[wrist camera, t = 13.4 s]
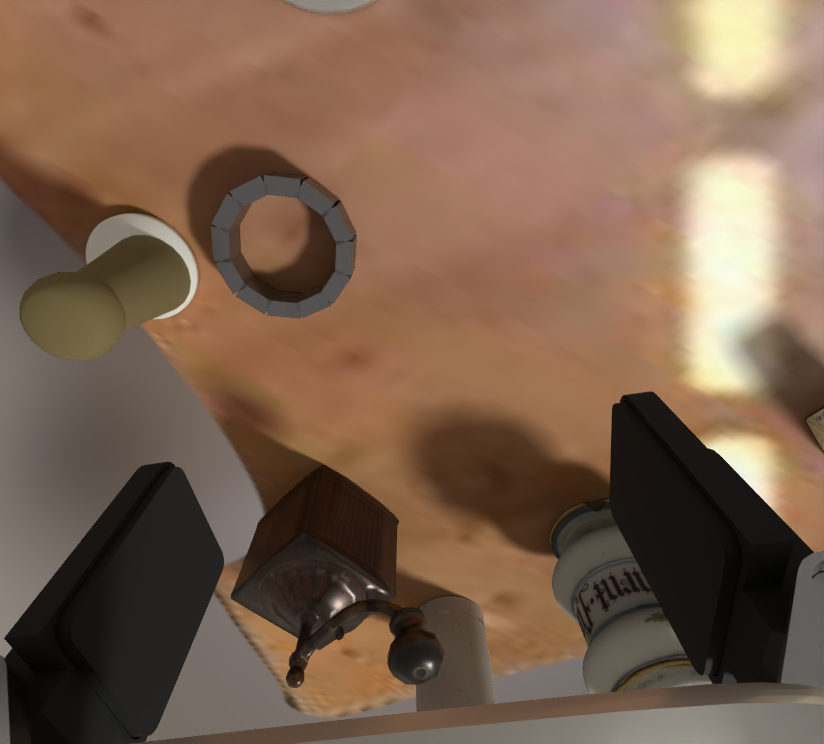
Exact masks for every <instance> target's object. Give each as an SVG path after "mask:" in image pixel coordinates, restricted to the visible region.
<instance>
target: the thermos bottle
mask: <svg viewBox="0 0 824 744" xmlns="http://www.w3.org/2000/svg"><path fill="white" fill-rule="evenodd" d="M419 610H422V611H423V613H424V615H425V617H426V618H427V624H426V629H427V630H428V631H430V632H433V633H435V635H436V636H437V638H438V639H439V641H440V642H441V644H442V646H443V649H444V651H445V653H444V657H443V660H442V663H441V666H440V669H439V672H438V676H436V677H434V678H432V679H430V680H429V681H427V682H425V683H423V684H421V685H416V704H417V705H416V706H417V712H421V711H430V710H439V709H449V708H459V707H469V706H478V705H488V704H497V699H496V693H495V687H494V681H493V674H492V668H491V662H490V656H489V650H488V643H487V637H486V631H485V625H484V618H483V614H482V611H481V610H480V608H479V607H478V606H477V605H476V604H475V603H474V602H472V601H470V600H468V599H466V598H462V597H457V596H444V597H439V598H436V599H433V600H430V601H429V602H427V603H425V604H424V605H423V606H421V608H420V609H419Z"/></svg>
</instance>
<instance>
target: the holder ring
mask: <svg viewBox="0 0 824 744" xmlns="http://www.w3.org/2000/svg"><path fill="white" fill-rule="evenodd" d="M266 195H276V196H285V197H294V198H298V199H299V200H301V201H302V202H304V203H305V204H306V205H308V206H309V207H311V208H312V209H313V210H315V211H316V212H318V213H319V214H320V215H322V216H323V218H324V220H325V222H326V224H327V226H328V228H329V230H330V232H331V234H332V236H333V238H334V240H335V242H336V263H335V270H334V272H333V273H332V275H331V276H330V277H329V279H328V280H327V282H326V283H325V284H323V285H320V286H318V287H316V288H314V289H312V290H309V291H307V292H305V293H297V292H287V291H278V290H276V289H275V288H273V287H272V286H270V285H268V284H267V283H265V282H264V281H262V280H261V279H259V278H258V277H256V276H255V275H254V273H253V272H252V270H251V268H250V267H249V265H248V263H247V262H246V260H245V258H244V257H243V255H242V253H241V244H240V224H241V222H242V220H243V218H244V216H245V215H246V213H247V211H248V209H249V207H250V206H251V204H252V202H254V201H256V200H258V199H260V198H262V197H264V196H266ZM338 199H339V198H338V197H336V196H335V195H333V194H332V193H331V192H329V191H328V190H327V189H325V188H324V187H323V186H321V185H320V184H318V183H317V182H316V181H314V180H313V179H312V178H308V179H307V176H301V175H292V174H283V173H275V172H272V173H268V174H264V175H261V176H259V177H257V178H255V179H253V180H251V181H249V182H247V183H245V184H243V185H241V186H239V187H237V188H235V189H233V190H231V191H230V193H228V194H227V195H226V197H225V199H224V200H223V202H222V204H221V206H220V208H219V210H218V212H217V214H216V216H215V217H214V219H213V221H212V224H213V226H211V237H212V250H213V261H218V262H217V263H216V264H215V266H216V268H217V269H218V271H219V272H220V274H221V275H222V277H223V279H224V280H225V282H226V283H227V285H228V287H229V288H230V290H231V291H232V293H233V294H234V293H236V292H238V293H237V295H236V297H238V298H239V299H241V300H242V301H244V302H245V303H247V304H249V305H250V306H252V307H253V308H255V309H257V310H258V311H260V312H261V313H263V314H265V313H266V312H268V316H279V317H289V318H299V319H300V317H301V316H302V318H304V317H306V316H309V315H311V314H313V313H315V312H318V311H320V310H322V309H325V308H327V307H329V306H331V304H332V303H334V302H335V300H336V299H337V297H338V296H339V295H340V293H341V292H342V290H343V289H344V287H345V286H346V284H347V283H348V281H349V280H350V279H351V276H352V273H353V271H354V268H355V255H356V237H357V235H355V233H356V231H355V229H354V227H353V225H352V223H351V221H350V219H349V217H348V214H347V212H346V210H345V208H344V206H343V204H342V202H339V203H336V202H337V201H338Z"/></svg>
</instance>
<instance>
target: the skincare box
mask: <svg viewBox="0 0 824 744" xmlns="http://www.w3.org/2000/svg"><path fill="white" fill-rule="evenodd" d="M806 421H807V423H808V425H809V427H810V428H811V430H812V432H813V434H814V435H815V437H816V439H817V441H818V442H819V444H820V446H821V447H822V449H823V451H824V408H823V409H822V410H820V411H818V412H817V413H815V414H814V415H812V416H810V417H808V418H807V419H806Z"/></svg>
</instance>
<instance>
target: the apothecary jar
mask: <svg viewBox="0 0 824 744" xmlns="http://www.w3.org/2000/svg"><path fill="white" fill-rule="evenodd" d="M550 546H551V549H552V551H553V553H554V554H555V556H556V557H557V558H558V559H559V560H558V562H557V564H556V566H555V569H554V573H553V579H552V586H553V592H554V595H555V598H556V600H557V602H558V604H559V606H560V607H561V609H562V610H563V611H564V612H565V613H566V614H567V615H568V616H569V617H570V618H571V619H573V620H574V621H576V622H577V623H579V625H580V627H581V630H582V632H583V635H584V637H585V640H586V642H587V645H588V649H587V652H586V654H585V657H584V661H583V677H584V681H585V685H586V687H587V690H588V691H589V693H590V694H596V693H607V692H619V691H631V690H643V689H655V688H667V687H679V686H691V685H703V684H712V682H711V680H710V679H709V677H708V675H702V676H701V675H699V674H698V673H697V672H696V671H695V669H694V668H693V666H692V664H691V663H690V661H689V659H688V657H687V655H686V653H685V651H684V649H683V648H682V646H681V644H680V642H679V640H678V638H677V636H676V635H675V633H674V631H673V629H672V627H671V625H670V623H669V621H668V620H667V618H666V616H665V614H664V612H663V610H662V608H661V607H660V605H659V603H658V601H657V599H656V597H655V595H654V593H653V592H652V590H651V588H650V586H649V584H648V582H647V580H646V579H645V577H644V575H643V573H642V571H641V569H640V567H639V566H638V564H637V562H636V560H635V558H634V556H633V554H632V552H631V551H630V549H629V547H628V545H627V543H626V541H625V539H624V538H623V536H622V534H621V532H620V530H619V528H618V526H617V524H616V523H615V521H614V519H613V516H612V513H611V509H610V501H609V499H602V500H600V501H598V502H595V503H593V504H588V503H581V504H578V505H576V506H574V507H572V508H571V509H569V510H567V511H566V512H565V513H563V514H562V515H561V516H560V517H559V518H558V520H557V521H556V522H555V524H554V526H553V528H552V530H551V533H550Z"/></svg>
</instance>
